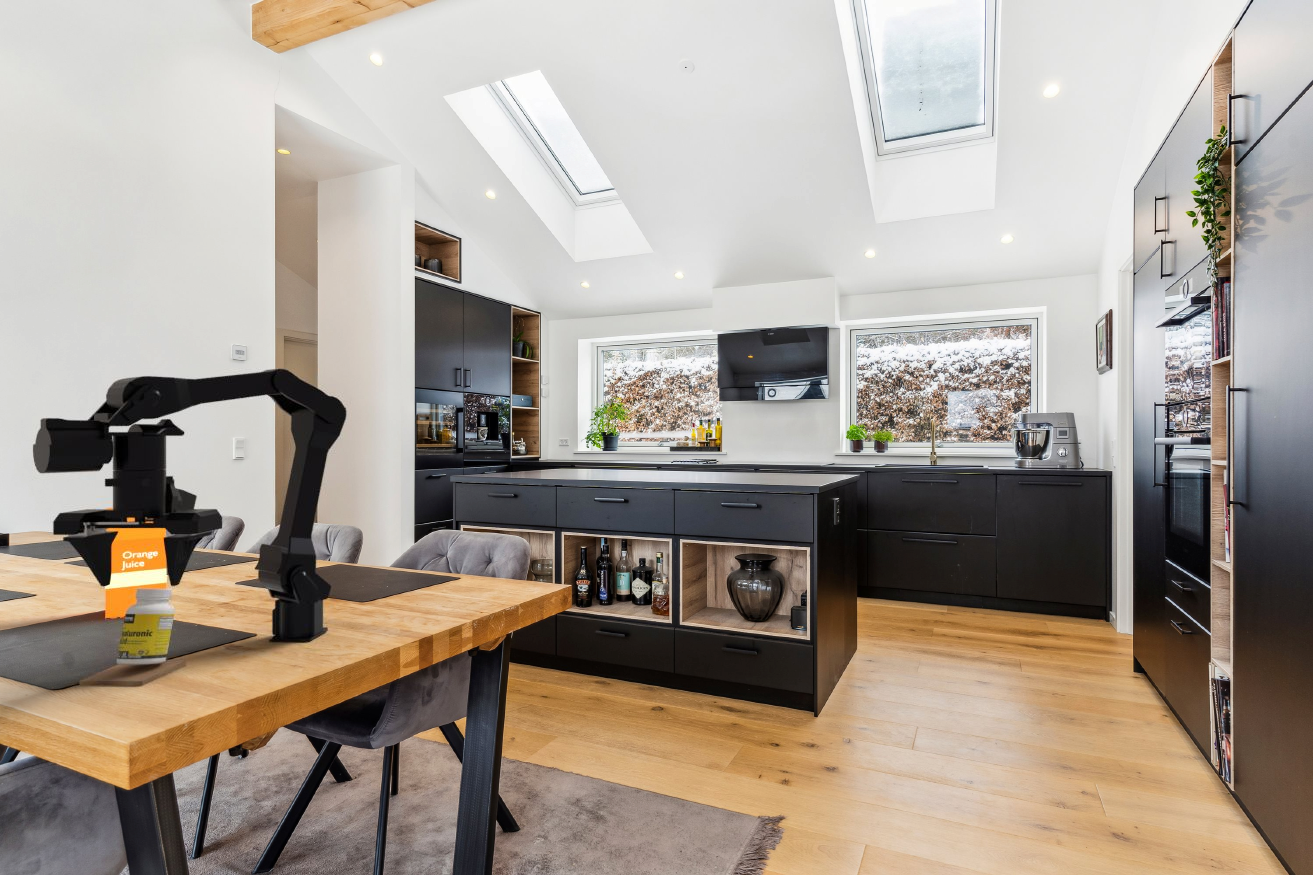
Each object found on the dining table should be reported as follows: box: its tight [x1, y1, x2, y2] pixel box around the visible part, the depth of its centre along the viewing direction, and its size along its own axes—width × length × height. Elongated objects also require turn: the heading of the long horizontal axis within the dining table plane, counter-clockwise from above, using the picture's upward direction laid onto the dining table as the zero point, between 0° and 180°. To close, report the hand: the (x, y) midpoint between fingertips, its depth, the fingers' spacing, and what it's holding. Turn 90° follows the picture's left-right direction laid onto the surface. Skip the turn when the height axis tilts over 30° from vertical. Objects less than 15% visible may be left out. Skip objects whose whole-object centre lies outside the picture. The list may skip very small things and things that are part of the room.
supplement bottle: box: [116, 588, 176, 665], centre depth 91 cm, size 5×5×10 cm
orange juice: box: [104, 507, 167, 620], centre depth 124 cm, size 8×9×20 cm
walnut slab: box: [78, 659, 187, 687], centre depth 89 cm, size 8×8×2 cm
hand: (140, 585), depth 90 cm, fingers open, 9 cm apart
